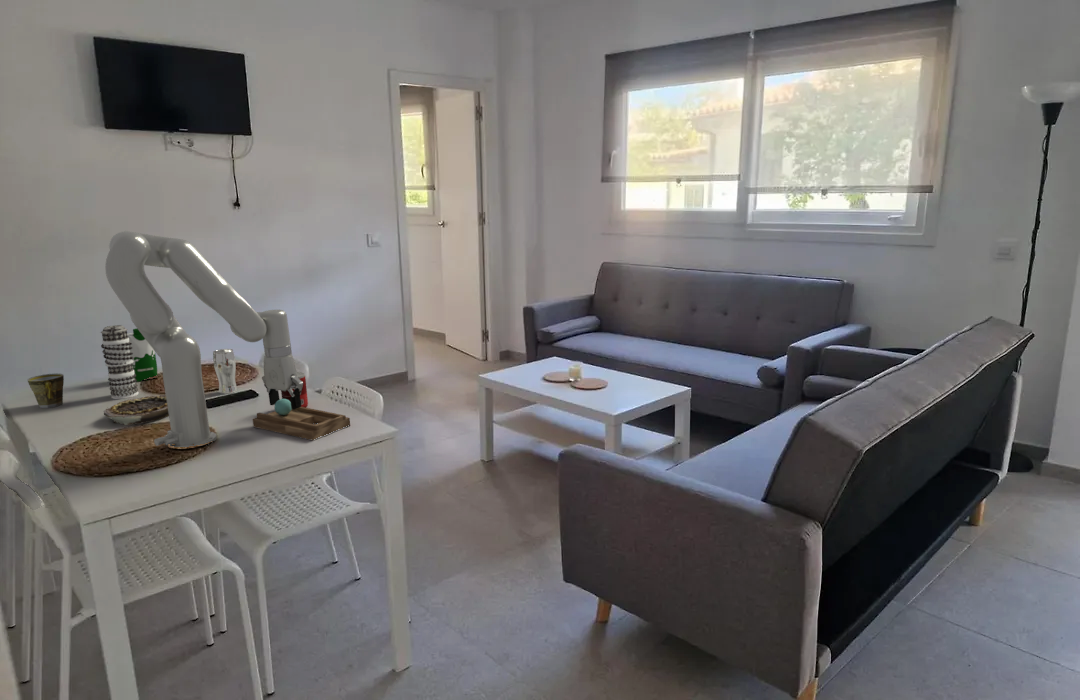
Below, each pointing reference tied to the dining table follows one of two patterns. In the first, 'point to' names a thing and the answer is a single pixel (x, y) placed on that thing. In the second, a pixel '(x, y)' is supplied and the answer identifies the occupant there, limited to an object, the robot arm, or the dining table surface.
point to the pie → (139, 410)
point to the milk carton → (142, 356)
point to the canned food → (303, 393)
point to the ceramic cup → (48, 389)
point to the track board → (302, 422)
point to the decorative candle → (119, 362)
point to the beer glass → (225, 370)
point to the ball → (283, 406)
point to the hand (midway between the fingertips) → (285, 406)
